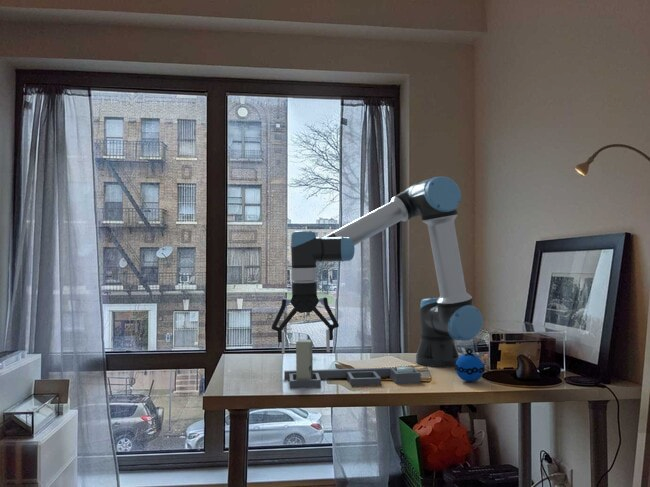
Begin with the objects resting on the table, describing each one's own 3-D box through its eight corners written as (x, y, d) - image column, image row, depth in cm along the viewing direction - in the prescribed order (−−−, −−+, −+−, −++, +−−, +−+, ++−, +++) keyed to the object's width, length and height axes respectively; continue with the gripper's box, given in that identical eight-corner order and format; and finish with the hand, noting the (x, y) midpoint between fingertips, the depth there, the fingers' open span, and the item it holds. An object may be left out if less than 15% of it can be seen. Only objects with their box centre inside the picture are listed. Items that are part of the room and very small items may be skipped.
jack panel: (403, 375, 156) (403, 367, 156) (412, 383, 145) (412, 375, 145) (284, 378, 152) (284, 370, 152) (284, 388, 142) (284, 379, 142)
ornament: (455, 384, 145) (454, 350, 145) (455, 377, 153) (454, 345, 153) (485, 386, 142) (485, 352, 143) (483, 379, 151) (483, 346, 151)
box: (310, 386, 144) (310, 342, 144) (295, 385, 144) (295, 342, 145) (313, 381, 149) (312, 339, 149) (299, 380, 150) (298, 338, 150)
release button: (410, 374, 152) (410, 366, 153) (415, 378, 147) (415, 369, 148) (395, 374, 152) (395, 366, 152) (399, 378, 147) (399, 370, 147)
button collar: (413, 376, 154) (413, 367, 154) (420, 383, 146) (420, 373, 146) (390, 377, 153) (390, 367, 153) (396, 383, 146) (395, 373, 146)
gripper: (343, 280, 152) (344, 347, 152) (263, 282, 150) (264, 351, 150) (346, 281, 145) (348, 352, 144) (262, 283, 142) (263, 356, 142)
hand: (305, 352), depth 147 cm, fingers open, 13 cm apart
